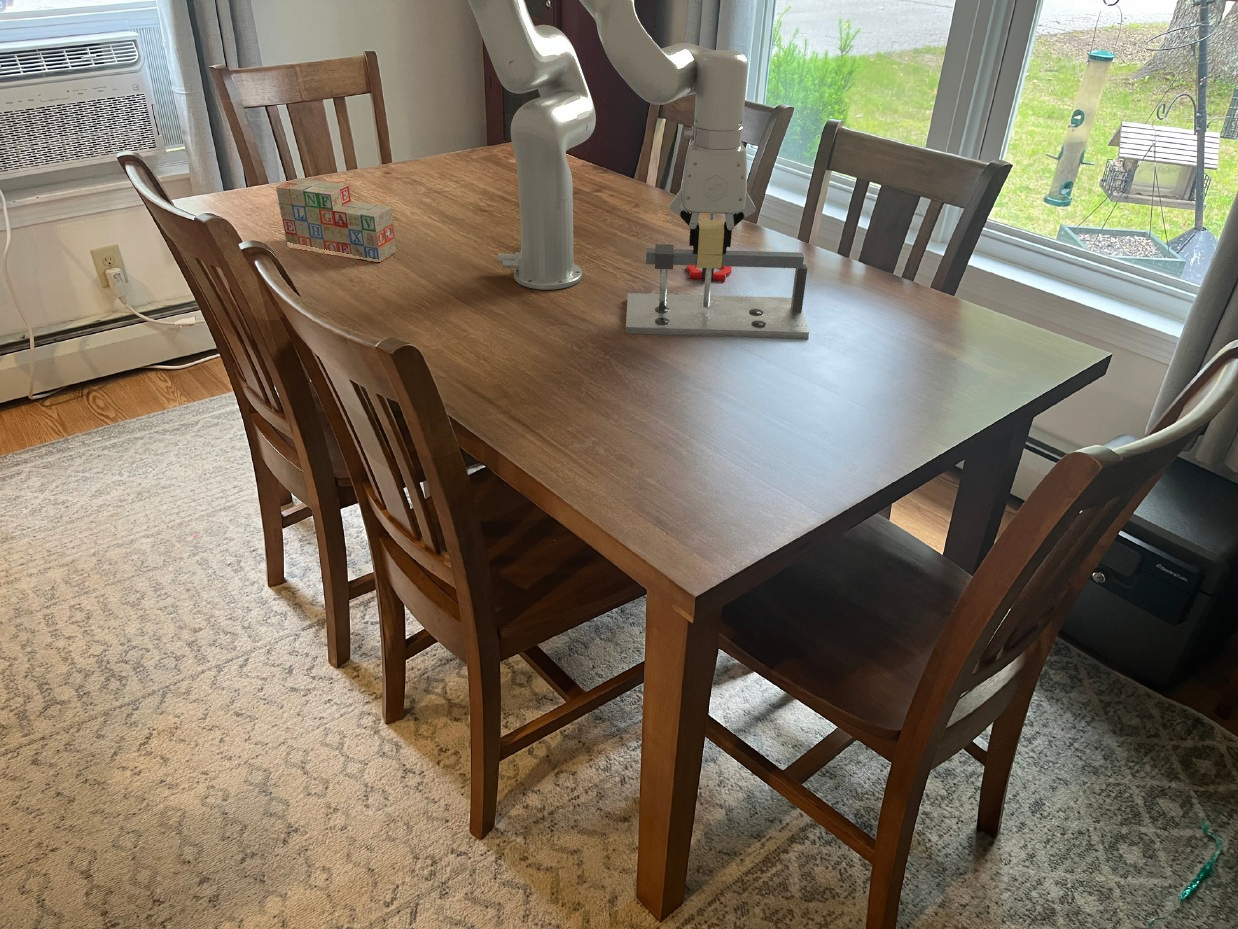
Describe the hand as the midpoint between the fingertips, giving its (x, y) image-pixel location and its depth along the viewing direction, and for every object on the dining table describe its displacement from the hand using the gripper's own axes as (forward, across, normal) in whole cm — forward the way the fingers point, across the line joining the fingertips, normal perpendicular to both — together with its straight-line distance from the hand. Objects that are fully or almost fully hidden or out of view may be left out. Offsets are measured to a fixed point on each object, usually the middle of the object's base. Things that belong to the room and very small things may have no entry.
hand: (709, 249), depth 158 cm
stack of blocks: (+12, -70, +25) cm, 75 cm away
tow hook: (+12, +2, +19) cm, 22 cm away
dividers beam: (+10, +3, 0) cm, 11 cm away
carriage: (+9, 0, 0) cm, 9 cm away
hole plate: (+11, +2, -2) cm, 12 cm away
